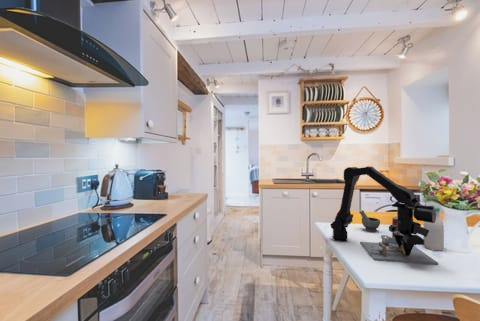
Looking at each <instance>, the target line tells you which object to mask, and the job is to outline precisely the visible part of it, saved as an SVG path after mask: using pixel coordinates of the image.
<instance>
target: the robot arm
mask: <svg viewBox="0 0 480 321" xmlns="http://www.w3.org/2000/svg"><path fill="white" fill-rule="evenodd" d="M361 176H368V177H369V178H370V179H372V180H373V181H375V182H376V183H377V184H379V185H380V186H381V187H383V188H384V189H386V190H387V191H388V192H389V193H390V194H391V196H392V197H393V198H394V199H395V200H396V201H395V202H394V203H393V204H392V205H391V207H393V208H396V209H397V210H396V215H397V216H396V217H397V219H395V221H396V222H397V225H392V224H390V225H389V226H388V231H389V232H390V233H391V234H392V235H393V236H394V238H395V240H396V242H397V244H398V246H399V247H400V246H401V245H403V248H404V251H405V254H406V256H409V255H410V253H411V250H412V248H413V246H415V245H417V246H424V239H423V236H424V237H427V235H428V232H429V230H428V229H426V228H424V226H422V225H421V223H419V222H423V223H424V222H430V223H435V221H436V212H435V209H434V207H435V206H434V205H423V204H421V202H419V200H418V199H417V197H416V196H415V195H416V194H415V192H414V191H413V190H412V189H410V188H407V187H405V186H402V185H400V184H398V183H396V182H394V181H393V180H392V179H390V178H388V177H387V176H386V175H385V174H383V173H381V172H380V171H379V170H377V169H376V168H375V167H374V166H372V165H371V166H369V165H368V166H365V167H357V166H352V167H346V168H345V169H344V170H343V181H344V188H343V193H342V198H341V203H340V208H339V211H337V213H336V215H335V218H334V221H332V222H331V223H330V228H331V229H332V235H331V237H332V239H333V241H339V242H348V231H347V228H348V227H349V225H350V224H351V223H352V222H353V218H354V214H353V213H352V214H351V207H352V202H353V196H354V192H355V188H356V184H357V183H358V181H359V179H360V177H361ZM414 220H416V221H419V222H416V221H414ZM393 231H394V233H392V232H393ZM421 236H422V237H421Z"/></svg>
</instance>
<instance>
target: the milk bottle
mask: <svg viewBox="0 0 480 321" xmlns="http://www.w3.org/2000/svg"><path fill="white" fill-rule="evenodd" d="M434 209H435V212H436V221H435V223H430V222H424V221H423V227H424V228H426V229H428V230H429V232H428V235H427V237H424V236H423V235H422V238H423V239H424V245H423V247H424V248H425V249H428V250H433V251H439V252H440V251H444V249H445V245H444V244H445V229H444V221H443V220H442V218H441V216H440V212H441V208H440V207H439V206H434Z"/></svg>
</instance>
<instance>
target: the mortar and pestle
mask: <svg viewBox="0 0 480 321" xmlns="http://www.w3.org/2000/svg"><path fill="white" fill-rule="evenodd" d="M359 214H360V216H361V217H362V218H361V223H362V226H363V227H364V230H365V231H366V232H367V233H368V232H369V233H377V231H378V230H377V229H378V228H379V227H380V224H381V219H380V218H376V217H370V216H369V217H368V216H367V214H366V213H365V211H364V210H360V211H359Z"/></svg>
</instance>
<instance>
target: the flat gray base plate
mask: <svg viewBox="0 0 480 321" xmlns="http://www.w3.org/2000/svg"><path fill="white" fill-rule="evenodd" d="M359 244H360V245H361V246H362V247H363V249H364V250H365V251H366V252H367V253H368V255H369V256H370V257H371V258H372V260H374V261H377V262H389V263H391V262H393V263H403V264H404V263H405V264H420V265H434V266H438V265H439V262H438V261H437V260H435V259H434V258H432V257H430V256H429V255H428V254H426V253H425V252H423V251H422V250H421V249H419V248H418V247H417V246H415V245H414V246H413V248H412V250H411V253H410V255H409V256H406V255H402V254H401V252H389V251H386V257H383V251H382V253H379V251H374V250H373V253H370V248H372V246H379V242H374V241H373V242H372V241H359ZM385 246H386V247H399V246H398V245H394V244H389V245H385Z"/></svg>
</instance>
